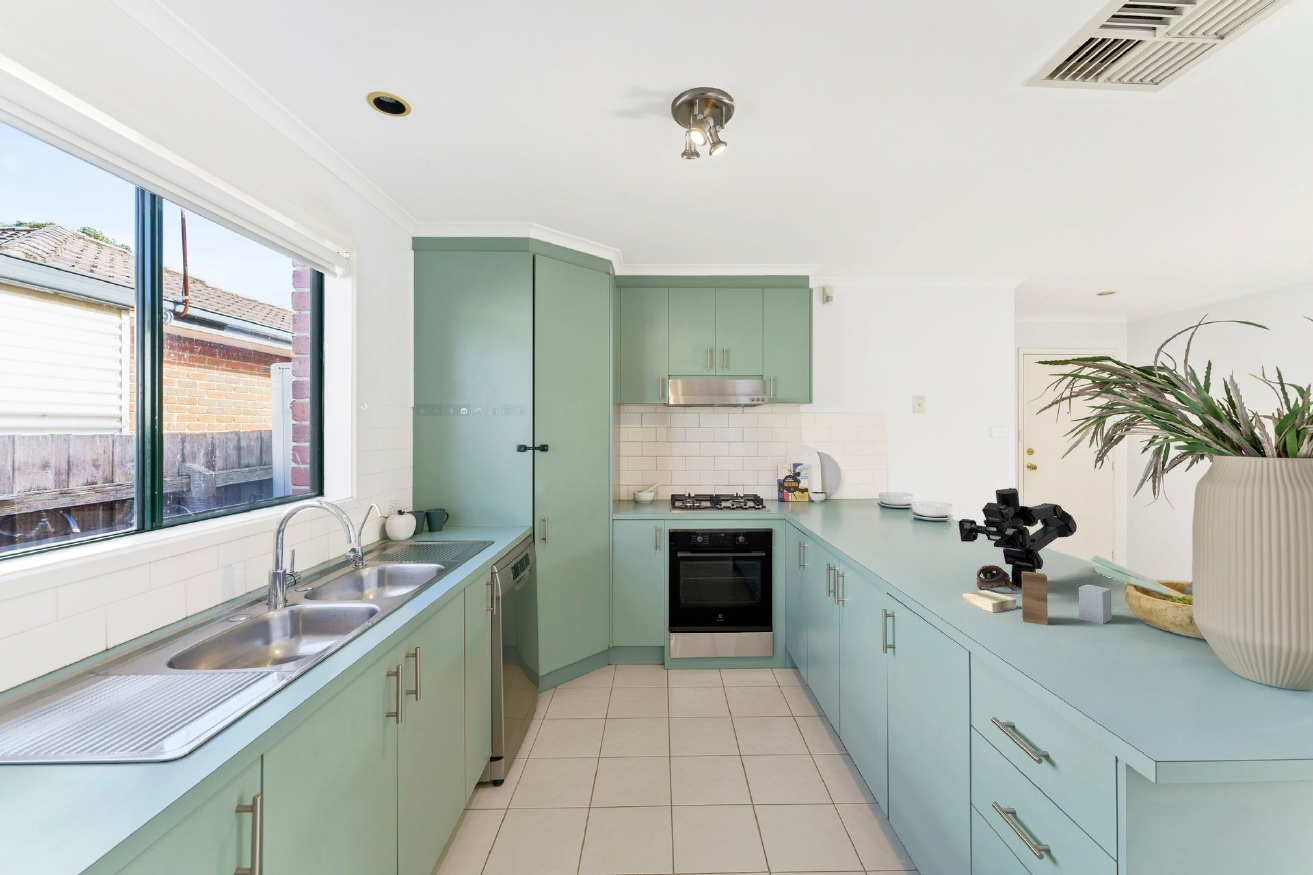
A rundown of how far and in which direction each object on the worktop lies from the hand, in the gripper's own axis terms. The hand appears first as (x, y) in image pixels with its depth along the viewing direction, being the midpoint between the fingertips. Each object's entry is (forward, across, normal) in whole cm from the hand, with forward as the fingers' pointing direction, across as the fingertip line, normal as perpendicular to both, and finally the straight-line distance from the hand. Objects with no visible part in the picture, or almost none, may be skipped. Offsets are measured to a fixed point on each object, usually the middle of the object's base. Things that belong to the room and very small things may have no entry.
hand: (977, 542), depth 152 cm
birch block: (+6, +4, +16) cm, 18 cm away
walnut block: (+8, +17, +15) cm, 24 cm away
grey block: (-5, +24, +18) cm, 31 cm away
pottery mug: (-12, -4, +20) cm, 23 cm away
